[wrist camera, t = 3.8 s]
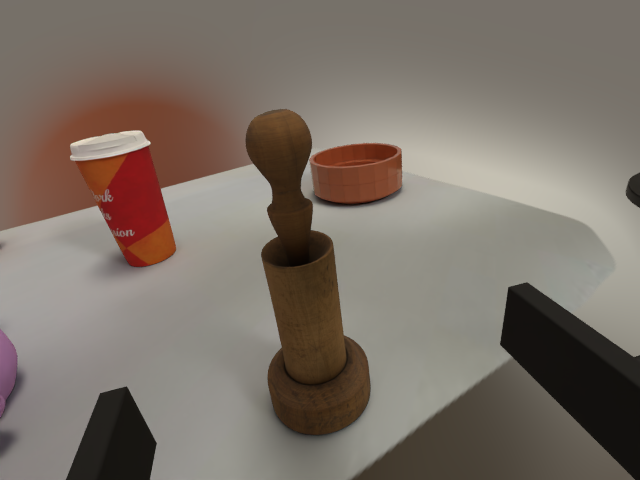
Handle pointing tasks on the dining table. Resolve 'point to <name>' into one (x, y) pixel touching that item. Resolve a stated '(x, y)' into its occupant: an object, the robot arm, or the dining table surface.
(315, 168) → the bowl
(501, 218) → the dining table surface
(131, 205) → the coffee cup
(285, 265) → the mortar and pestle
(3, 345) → the teapot
